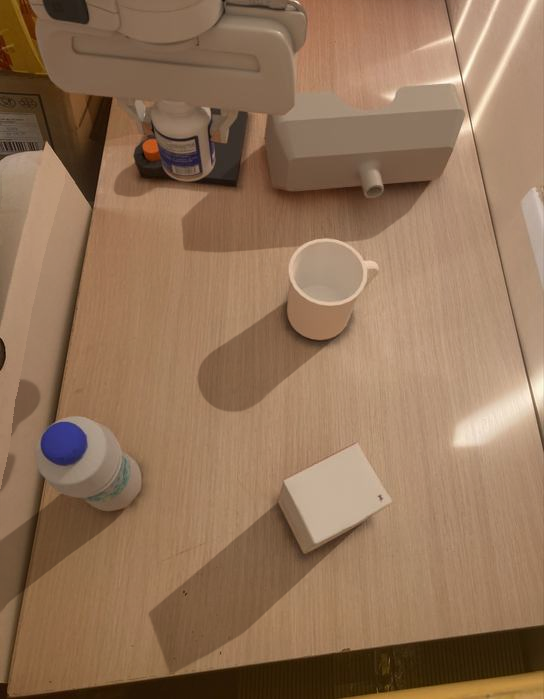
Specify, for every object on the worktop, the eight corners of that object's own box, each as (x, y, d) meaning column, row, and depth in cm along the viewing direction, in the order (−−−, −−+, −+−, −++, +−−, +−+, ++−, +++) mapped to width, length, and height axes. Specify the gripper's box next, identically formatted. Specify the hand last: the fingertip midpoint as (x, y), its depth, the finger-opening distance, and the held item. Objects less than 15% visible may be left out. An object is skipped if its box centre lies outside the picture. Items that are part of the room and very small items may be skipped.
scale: (134, 181, 78) (130, 166, 75) (153, 107, 84) (150, 91, 81) (235, 191, 78) (235, 176, 75) (247, 116, 84) (247, 100, 81)
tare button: (143, 161, 76) (140, 151, 74) (146, 147, 77) (144, 137, 75) (161, 163, 76) (159, 153, 74) (164, 149, 77) (162, 139, 75)
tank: (277, 228, 75) (282, 164, 64) (263, 142, 81) (265, 70, 70) (449, 214, 77) (484, 149, 66) (423, 131, 84) (450, 58, 72)
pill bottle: (185, 134, 54) (173, 54, 46) (226, 158, 53) (221, 81, 45) (150, 166, 53) (131, 89, 44) (191, 192, 51) (180, 118, 43)
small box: (338, 468, 62) (358, 440, 50) (367, 520, 59) (395, 503, 48) (275, 501, 60) (281, 479, 48) (302, 555, 58) (315, 547, 46)
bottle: (130, 443, 62) (79, 383, 44) (157, 494, 60) (115, 452, 42) (76, 475, 60) (-1, 426, 42) (102, 528, 58) (33, 500, 40)
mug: (294, 352, 67) (301, 313, 58) (275, 292, 71) (279, 247, 61) (376, 332, 69) (395, 291, 60) (353, 274, 72) (368, 228, 63)
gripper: (313, -35, 38) (298, 120, 51) (29, -64, 38) (84, 97, 51) (306, 24, 36) (292, 172, 48) (2, -8, 36) (67, 147, 49)
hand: (183, 133), depth 50 cm, fingers closed on pill bottle, 5 cm apart
